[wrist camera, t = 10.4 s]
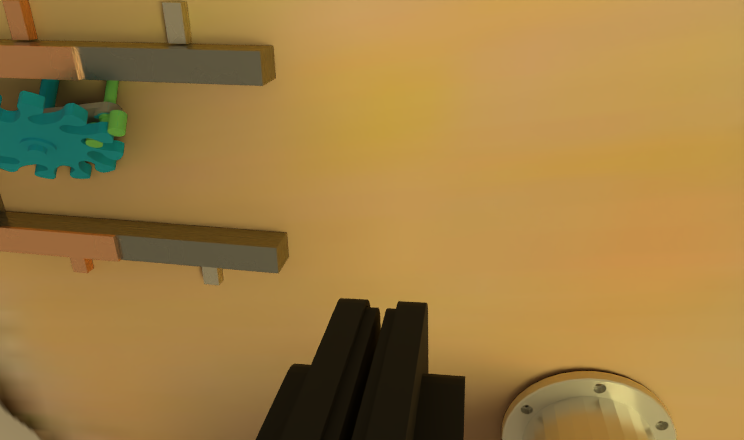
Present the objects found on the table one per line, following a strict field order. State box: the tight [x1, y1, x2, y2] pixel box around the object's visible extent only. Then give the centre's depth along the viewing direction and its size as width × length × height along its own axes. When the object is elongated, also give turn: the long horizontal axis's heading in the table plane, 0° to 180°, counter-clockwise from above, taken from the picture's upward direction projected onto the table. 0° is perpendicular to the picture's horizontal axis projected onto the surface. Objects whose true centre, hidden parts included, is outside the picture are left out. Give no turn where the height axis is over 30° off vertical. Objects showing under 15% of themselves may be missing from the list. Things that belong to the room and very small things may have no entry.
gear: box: [0, 79, 127, 179], centre depth 36 cm, size 11×6×10 cm
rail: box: [0, 0, 289, 285], centre depth 38 cm, size 20×24×3 cm
